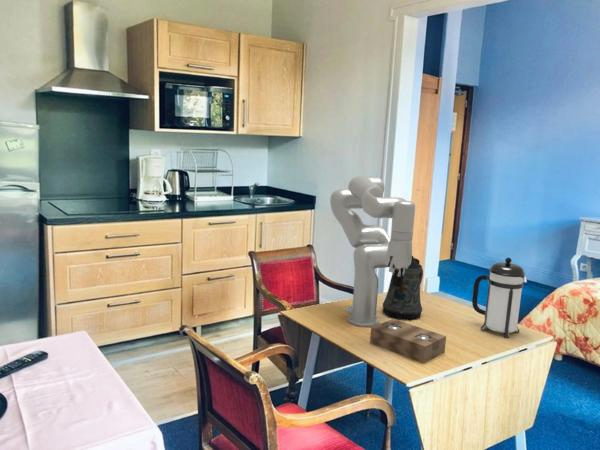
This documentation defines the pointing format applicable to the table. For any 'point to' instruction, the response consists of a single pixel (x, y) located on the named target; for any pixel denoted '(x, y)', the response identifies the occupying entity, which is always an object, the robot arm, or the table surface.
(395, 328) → the peg
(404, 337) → the walnut block
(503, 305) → the coffee press
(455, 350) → the table surface
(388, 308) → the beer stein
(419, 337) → the peg
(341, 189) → the robot arm
